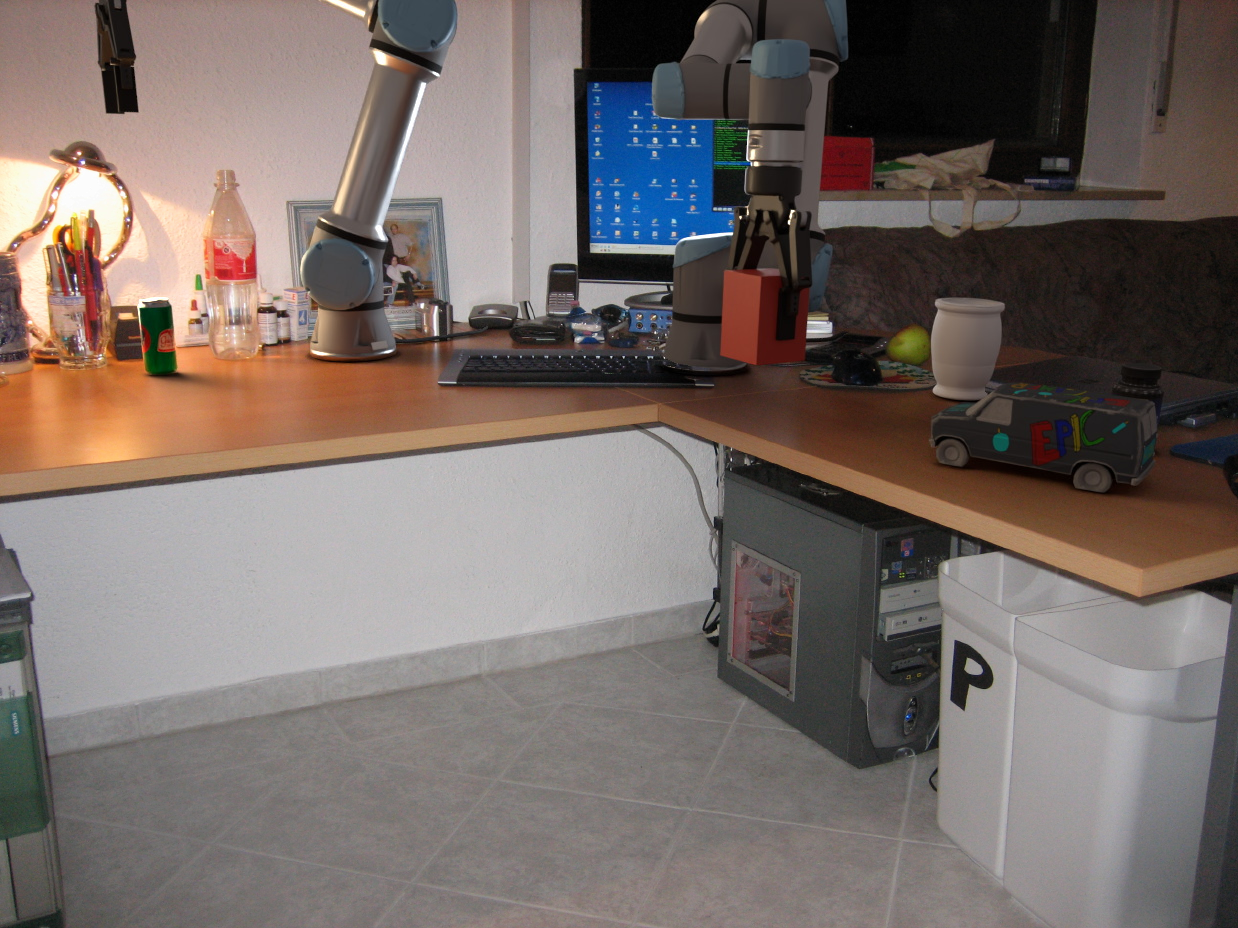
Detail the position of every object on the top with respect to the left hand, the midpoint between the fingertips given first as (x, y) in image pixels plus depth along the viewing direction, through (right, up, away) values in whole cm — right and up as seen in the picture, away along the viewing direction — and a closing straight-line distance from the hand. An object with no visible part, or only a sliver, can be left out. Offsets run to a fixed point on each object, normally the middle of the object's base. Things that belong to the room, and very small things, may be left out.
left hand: (121, 113), depth 166 cm
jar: (+132, -44, +4) cm, 139 cm away
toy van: (+128, -56, -36) cm, 144 cm away
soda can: (+2, -40, +9) cm, 41 cm away
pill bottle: (+145, -53, -25) cm, 156 cm away
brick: (+97, -40, -17) cm, 107 cm away
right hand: (+98, -37, -18) cm, 106 cm away
